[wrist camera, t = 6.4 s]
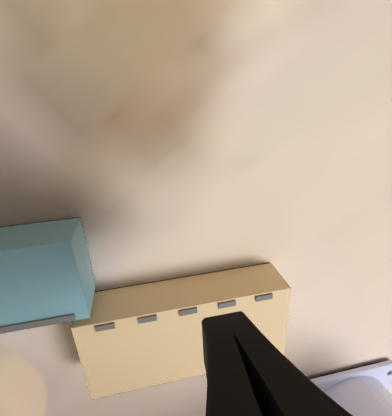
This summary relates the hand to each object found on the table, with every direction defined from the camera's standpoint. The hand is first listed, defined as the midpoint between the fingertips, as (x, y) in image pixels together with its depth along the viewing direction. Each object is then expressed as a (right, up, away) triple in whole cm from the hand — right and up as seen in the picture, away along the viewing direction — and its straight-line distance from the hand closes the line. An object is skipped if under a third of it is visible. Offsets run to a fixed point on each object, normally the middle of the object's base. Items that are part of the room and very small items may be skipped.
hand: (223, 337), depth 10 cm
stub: (-9, +2, +5) cm, 11 cm away
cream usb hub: (-2, -2, +8) cm, 8 cm away
